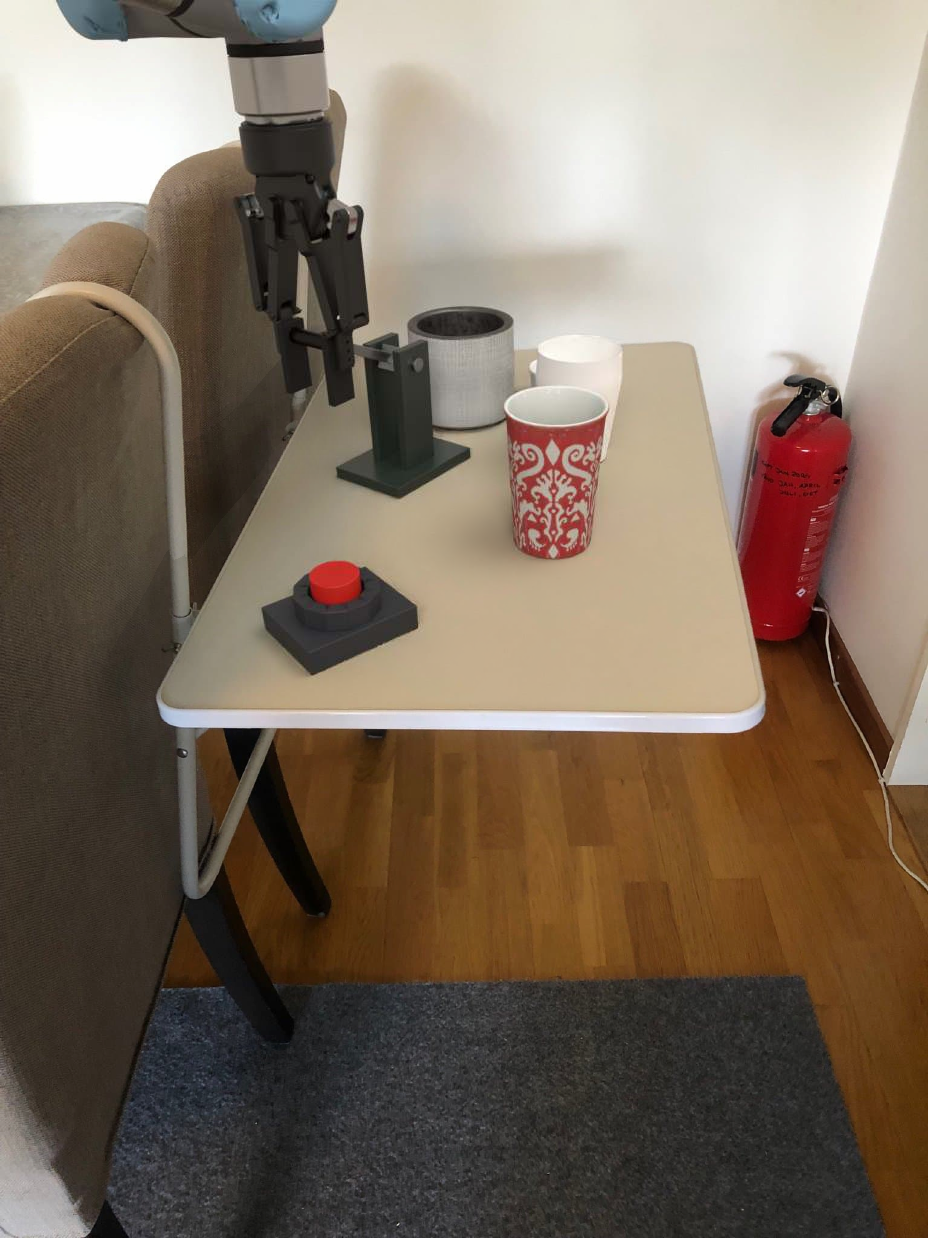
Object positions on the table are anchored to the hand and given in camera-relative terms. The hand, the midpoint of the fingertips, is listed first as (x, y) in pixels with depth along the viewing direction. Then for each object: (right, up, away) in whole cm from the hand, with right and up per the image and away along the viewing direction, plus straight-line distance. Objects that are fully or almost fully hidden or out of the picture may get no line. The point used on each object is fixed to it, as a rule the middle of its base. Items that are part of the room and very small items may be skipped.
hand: (320, 394), depth 87 cm
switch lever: (+3, +4, +2) cm, 5 cm away
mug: (+22, -13, +1) cm, 26 cm away
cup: (+26, -3, +15) cm, 30 cm away
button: (+3, -19, -13) cm, 23 cm away
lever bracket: (+7, -5, +14) cm, 16 cm away
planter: (+14, +4, +26) cm, 29 cm away
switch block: (+4, -22, -11) cm, 25 cm away
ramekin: (+26, +6, +28) cm, 39 cm away
